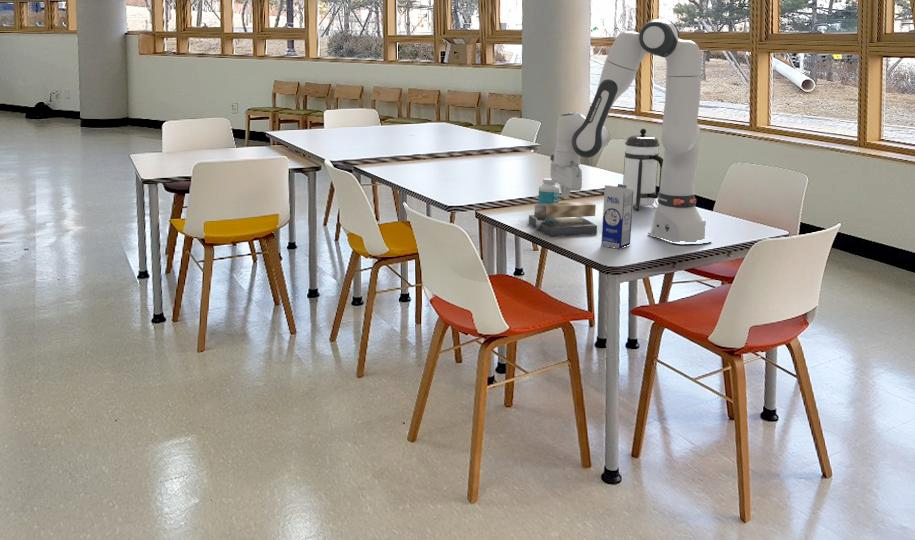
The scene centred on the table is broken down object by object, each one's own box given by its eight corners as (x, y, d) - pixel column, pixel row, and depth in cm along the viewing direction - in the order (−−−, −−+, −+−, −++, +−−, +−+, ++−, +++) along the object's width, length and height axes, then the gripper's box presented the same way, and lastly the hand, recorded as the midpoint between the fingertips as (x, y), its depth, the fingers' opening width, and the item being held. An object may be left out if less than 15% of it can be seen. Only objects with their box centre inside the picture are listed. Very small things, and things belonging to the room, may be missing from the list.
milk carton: (600, 245, 306) (604, 184, 300) (611, 242, 311) (614, 181, 305) (620, 249, 302) (624, 187, 296) (630, 245, 307) (634, 184, 301)
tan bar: (537, 218, 322) (537, 207, 321) (532, 215, 326) (532, 204, 325) (595, 216, 328) (595, 204, 326) (589, 212, 332) (589, 201, 331)
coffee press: (615, 210, 359) (620, 130, 351) (621, 202, 374) (625, 125, 365) (662, 213, 354) (668, 132, 346) (666, 205, 369) (671, 127, 360)
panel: (596, 234, 321) (597, 222, 320) (546, 236, 316) (547, 224, 315) (573, 221, 340) (574, 209, 339) (526, 223, 335) (526, 211, 334)
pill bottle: (557, 218, 344) (558, 181, 340) (536, 217, 346) (538, 180, 342) (559, 213, 351) (560, 177, 348) (539, 212, 353) (540, 176, 349)
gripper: (587, 164, 321) (584, 204, 325) (564, 154, 340) (562, 192, 344) (570, 164, 319) (567, 204, 323) (548, 154, 338) (546, 192, 342)
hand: (564, 198), depth 333 cm, fingers closed
